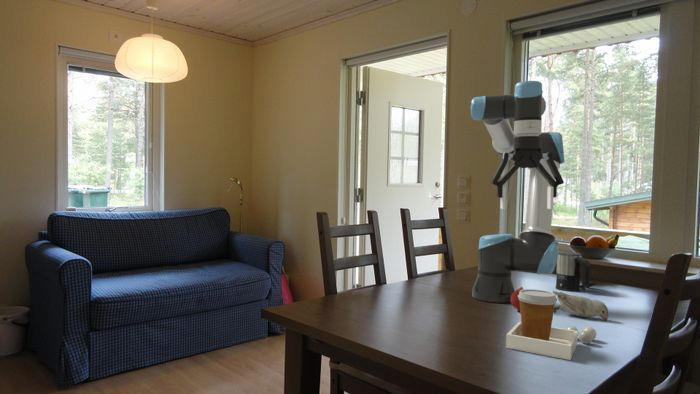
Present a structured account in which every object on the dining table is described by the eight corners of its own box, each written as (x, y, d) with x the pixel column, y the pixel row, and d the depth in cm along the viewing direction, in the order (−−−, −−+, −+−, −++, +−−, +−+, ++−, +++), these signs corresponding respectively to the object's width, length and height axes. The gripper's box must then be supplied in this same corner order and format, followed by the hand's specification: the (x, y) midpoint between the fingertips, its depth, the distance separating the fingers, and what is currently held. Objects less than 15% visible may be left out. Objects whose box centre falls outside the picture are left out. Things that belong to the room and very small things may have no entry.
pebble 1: (564, 338, 128) (565, 326, 128) (566, 335, 131) (566, 324, 131) (577, 341, 126) (578, 329, 126) (579, 338, 129) (579, 326, 129)
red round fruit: (519, 314, 153) (520, 289, 153) (506, 309, 158) (507, 285, 158) (532, 312, 155) (533, 287, 155) (519, 308, 161) (520, 284, 160)
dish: (505, 347, 119) (506, 334, 119) (518, 333, 132) (519, 321, 131) (570, 360, 111) (571, 345, 111) (577, 343, 124) (578, 331, 124)
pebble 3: (581, 340, 127) (581, 327, 127) (582, 337, 130) (583, 324, 130) (595, 342, 125) (596, 329, 125) (596, 339, 128) (597, 326, 128)
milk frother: (551, 288, 196) (552, 252, 196) (564, 284, 208) (566, 249, 208) (589, 294, 187) (590, 256, 186) (600, 289, 198) (602, 253, 198)
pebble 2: (578, 343, 124) (578, 331, 124) (579, 340, 127) (579, 328, 127) (591, 346, 122) (592, 333, 122) (592, 343, 125) (593, 330, 125)
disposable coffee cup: (517, 342, 121) (519, 294, 121) (515, 332, 130) (516, 287, 130) (558, 347, 118) (560, 298, 118) (553, 336, 127) (554, 290, 127)
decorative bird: (607, 323, 146) (608, 298, 146) (550, 315, 154) (551, 292, 153) (608, 319, 150) (608, 295, 150) (552, 311, 158) (553, 289, 158)
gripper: (486, 135, 137) (486, 210, 138) (576, 134, 135) (575, 209, 137) (481, 137, 144) (480, 207, 145) (566, 136, 143) (564, 207, 144)
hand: (526, 209), depth 141 cm, fingers open, 13 cm apart
